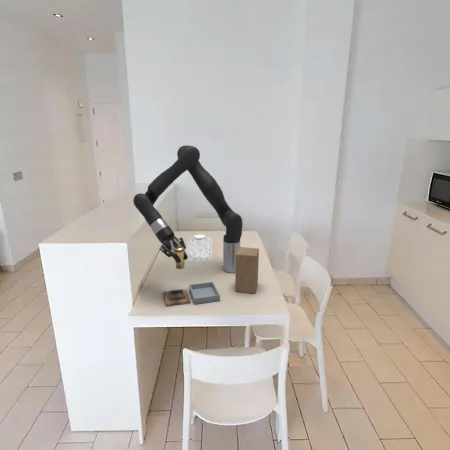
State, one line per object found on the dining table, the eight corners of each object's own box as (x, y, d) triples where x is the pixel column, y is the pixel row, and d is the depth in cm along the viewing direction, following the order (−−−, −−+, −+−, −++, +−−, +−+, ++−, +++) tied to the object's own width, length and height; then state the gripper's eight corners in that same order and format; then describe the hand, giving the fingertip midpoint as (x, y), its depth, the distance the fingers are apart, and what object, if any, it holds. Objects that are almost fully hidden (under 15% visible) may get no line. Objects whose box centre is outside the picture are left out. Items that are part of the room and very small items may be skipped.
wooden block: (257, 284, 171) (259, 248, 165) (255, 294, 162) (256, 255, 156) (238, 282, 173) (239, 246, 167) (235, 292, 164) (235, 253, 158)
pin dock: (186, 291, 164) (186, 286, 164) (190, 303, 153) (190, 298, 152) (163, 293, 161) (163, 288, 161) (166, 306, 150) (166, 301, 150)
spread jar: (196, 257, 205) (195, 239, 202) (187, 251, 214) (186, 234, 210) (212, 253, 212) (212, 235, 208) (202, 247, 220) (202, 231, 217)
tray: (212, 287, 168) (212, 281, 167) (220, 300, 155) (220, 295, 154) (189, 290, 165) (189, 284, 164) (194, 304, 152) (194, 298, 151)
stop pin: (183, 264, 156) (183, 245, 153) (185, 268, 152) (184, 249, 149) (175, 265, 155) (174, 246, 152) (176, 269, 151) (175, 250, 148)
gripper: (154, 229, 146) (176, 261, 143) (176, 221, 157) (197, 251, 154) (146, 239, 151) (168, 270, 148) (168, 230, 162) (189, 259, 159)
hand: (183, 260), depth 151 cm, fingers closed on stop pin, 4 cm apart
